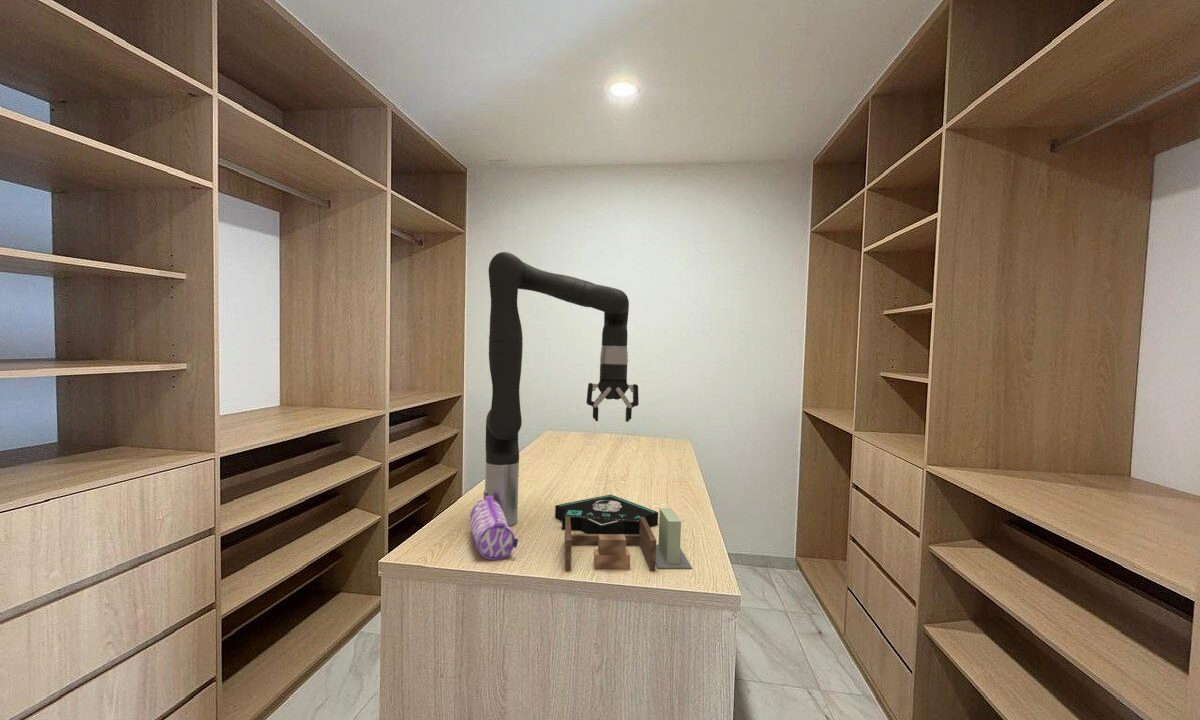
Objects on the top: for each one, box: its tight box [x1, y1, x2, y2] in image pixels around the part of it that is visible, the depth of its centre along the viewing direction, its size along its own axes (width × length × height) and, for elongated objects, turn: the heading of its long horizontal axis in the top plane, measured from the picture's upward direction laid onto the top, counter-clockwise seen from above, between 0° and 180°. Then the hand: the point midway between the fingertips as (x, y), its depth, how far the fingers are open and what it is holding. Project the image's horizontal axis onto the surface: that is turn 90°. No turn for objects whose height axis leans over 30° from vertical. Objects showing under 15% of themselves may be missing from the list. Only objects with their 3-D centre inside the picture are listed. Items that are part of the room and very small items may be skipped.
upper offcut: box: [597, 534, 627, 555], centre depth 120 cm, size 6×4×4 cm, turn 96°
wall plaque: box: [554, 494, 659, 534], centre depth 151 cm, size 30×4×30 cm
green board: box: [657, 507, 682, 564], centre depth 126 cm, size 10×3×10 cm, turn 5°
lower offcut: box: [593, 548, 631, 570], centre depth 120 cm, size 8×4×4 cm, turn 94°
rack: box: [563, 516, 657, 572], centre depth 125 cm, size 20×16×7 cm
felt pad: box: [656, 544, 693, 570], centre depth 126 cm, size 8×14×1 cm, turn 5°
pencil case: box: [469, 496, 519, 561], centre depth 130 cm, size 22×9×10 cm, turn 21°
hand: (611, 421), depth 144 cm, fingers open, 8 cm apart
